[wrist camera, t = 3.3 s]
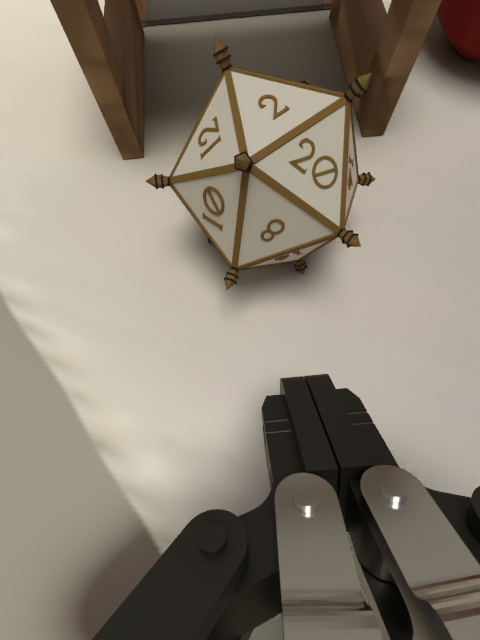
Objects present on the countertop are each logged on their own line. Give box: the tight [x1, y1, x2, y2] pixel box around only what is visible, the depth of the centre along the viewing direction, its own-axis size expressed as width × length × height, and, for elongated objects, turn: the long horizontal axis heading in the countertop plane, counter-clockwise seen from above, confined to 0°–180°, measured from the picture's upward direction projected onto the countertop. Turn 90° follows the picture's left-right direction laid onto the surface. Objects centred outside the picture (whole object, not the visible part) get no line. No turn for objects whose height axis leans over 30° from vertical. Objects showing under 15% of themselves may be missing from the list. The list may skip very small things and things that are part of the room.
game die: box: [146, 38, 375, 290], centre depth 14 cm, size 9×8×10 cm
